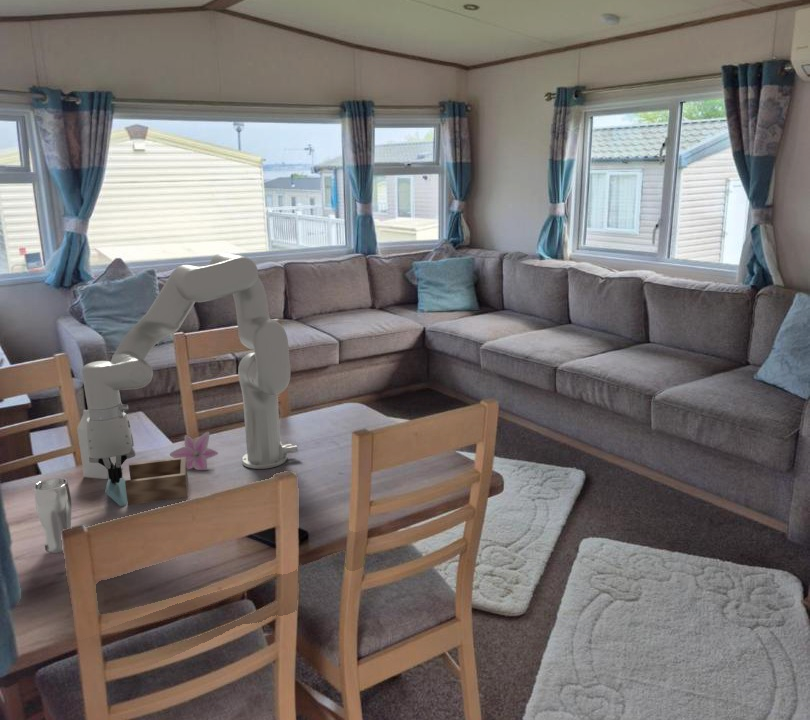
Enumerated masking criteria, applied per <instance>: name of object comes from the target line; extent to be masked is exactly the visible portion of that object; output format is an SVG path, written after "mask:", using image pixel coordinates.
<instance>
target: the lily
mask: <svg viewBox="0 0 810 720" xmlns="http://www.w3.org/2000/svg"><path fill="white" fill-rule="evenodd" d="M209 440H210V431H206V432H204V433H203V434H200V435H199V437H198V438H196V439H195V440H194V439H193V438H192V437H190V436H189V435H187V434H184V446H183V447H180V448H178V449H175V450H172V452H170V453H169V456H170V457H171V458H180V457H186V466H187V470H191V469H193V468H194V469H195V470H197V471H198V470H199V471H201V470H202V471H203V470H206V471H207V470H208V462H207V460H208V459H211V458H213V457H215V456H217V455H219V452H218V451H216V450H214V449H211V448H208V446H209Z"/></svg>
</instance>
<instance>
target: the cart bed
mask: <svg viewBox="0 0 810 720" xmlns="http://www.w3.org/2000/svg"><path fill="white" fill-rule="evenodd" d="M128 470H129V479H124V480H125V486H126V494H127V506H130V505H131V506H132V505H139V504H140V505H141V504H146V503H153V502H155V503H156V502H163V501H169V500H175V499H177V500H178V499H184V498H188V497H189V496H188V494H189V491H188V488H189V487H188V486H189V484H188V483H189V479H188V478H189V477H188V469H187V466H186V457H180V458H173V457H171V458H166V459H165V458H163V459H156V460H149V461H139V462H132V463H131V462H129V463H128Z"/></svg>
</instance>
